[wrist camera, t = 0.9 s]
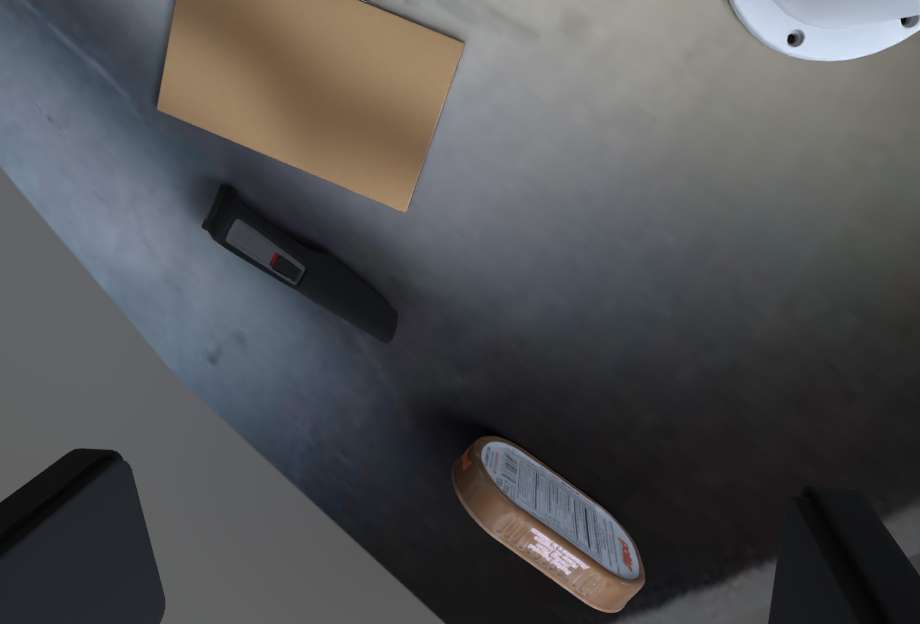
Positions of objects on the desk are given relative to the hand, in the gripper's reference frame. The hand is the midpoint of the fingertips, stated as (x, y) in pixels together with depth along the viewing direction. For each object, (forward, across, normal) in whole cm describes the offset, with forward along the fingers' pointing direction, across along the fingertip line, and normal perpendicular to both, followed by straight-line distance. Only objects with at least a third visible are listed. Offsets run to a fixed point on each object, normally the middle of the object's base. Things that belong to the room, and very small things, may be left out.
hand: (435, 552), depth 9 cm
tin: (+34, 0, +22) cm, 40 cm away
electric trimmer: (+34, +16, +5) cm, 38 cm away
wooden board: (+34, +15, -7) cm, 38 cm away
